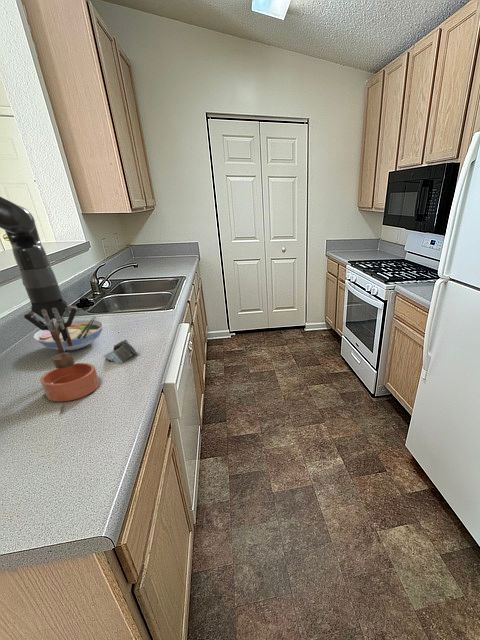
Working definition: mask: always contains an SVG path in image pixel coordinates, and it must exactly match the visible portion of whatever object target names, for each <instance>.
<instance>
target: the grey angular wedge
mask: <svg viewBox="0 0 480 640" xmlns="http://www.w3.org/2000/svg"><path fill="white" fill-rule="evenodd" d="M131 357H138V352H137V351H136V349H135V348H134V346H132V345H131V344H130V343H129V342H128V340H127V339H124V340H121V341H119V342H118V343H116V344H115V345H113V351H112V352H111V353H109V354H108V355H106V357H105V358H106V359H108V361H107V362H108V363H111V362H115V364H118V365H119V364H123V363H126V361H127V360H128V359H130V358H131Z"/></svg>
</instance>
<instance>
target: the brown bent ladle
mask: <svg viewBox="0 0 480 640" xmlns="http://www.w3.org/2000/svg"><path fill="white" fill-rule="evenodd" d="M63 319H64V322H66V320H65V318H64V317H63ZM67 331H68V329H67ZM51 332H52V335H53V337H54V340H55V342H56V345H57V348H58V350H57V351H58V354H55V355H53V356H52V358H51V360H52V363H53V365H54V367H55V369H56V368H59V369H61V368H66V367H69V366H72V365H73V364H74V363H76V362H75V360H74V357H73V353H71V352H66V350H64V348H63V345H62V342H61V340H60V337H59V335H60V333H61V331H60V327H59V325H58V323H57V321H55V323H54V327H53V329H52V331H51ZM68 334H69V331H68ZM67 343H68V346H73V343H72V340H71V337H70V334H69V338H68V339H67Z"/></svg>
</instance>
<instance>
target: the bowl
mask: <svg viewBox="0 0 480 640" xmlns="http://www.w3.org/2000/svg"><path fill="white" fill-rule="evenodd" d="M39 382H40V384H41V386H42V389H43V391H44V393H45V397H46V398H47V399H48V400H49V401H51V402H60V403H61V402H70V401H75V400H78V399H82V398H84V397H86V396H88V395H90V394H91V393H93V392H94V391H96V390H97V389H98V388H99V386H100V379H99V376H98V373H97V370H96V367H95V365H93V364H91V363H88V362H75V363H74V364H73V365H72V366H69V367H66V368H61V369H59V368H56V367H55V368H53V369H50V370H49V371H47V372H46V373H44V374H43V375H42V376H41V377H40V380H39Z"/></svg>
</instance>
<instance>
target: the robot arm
mask: <svg viewBox="0 0 480 640" xmlns="http://www.w3.org/2000/svg"><path fill="white" fill-rule="evenodd" d="M0 229H3V230H4V232H5V234H6V236H7V239H8V241H9V243H10V246H11V250H12V254H13V257H14V260H15V263H16V266H17V268H18V271H19V275H20V278H21V281H22V285H23V286H24V289H25V291H26V294H27V297H28V299H29V302H30V304H31V306H30V309H31V310H29V311H28V312H26V313H25V314H24V315H23V318H24V319H25V320H27V321H28V322H30V323H31V324H33V325H34V326H35V327H36V328H38V329H39V330H49V331H50V333H51V335H52V332H51V331H52V329H53V327H54V325H55V323H54V320H56V321H57V323H58V325H59V327H60V331H61V334H62V337H63V340H64V341H67V339H68V338H69V334H68V331H67V327H69V326H71V324H72V321H74V319H75V317H76V314H77V311H78V306H76V305H73V306H72V305H69V304H68V303H67V302H66V300H64V297H63V295H62V292H61V289H60V286H59V283H58V281H57V277H56V274H55V272H54V270H53V268H52V265H51V264H50V261H49V257H48V255H47V252H46V250H45V248H44V247H43V244H42V242H41V239H40V236H39V235H40V234H39V231H38V228H37V225H36V220H35V217H34V216H33V215H32V213H31V212H30V211H29V210H28V209H26V208H25V207H24V206H21V205H19V204H17V203H14V202H12V201H10V200H8V199H6V198H4V197H2V196H0ZM66 310H67V313H68V314H69V315H68V317H67V320H66V321H65V322H64V320H65V318H64V316H63V315H64V314H65V312H66ZM37 315H38V316H39V317H41V318H42V319H43V320H44V322H43V321H42V320H40V318H38V317H37ZM63 318H64V319H63ZM56 321H55V322H56ZM52 338H53V340H54V337H53V335H52ZM54 341H55V340H54Z"/></svg>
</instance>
